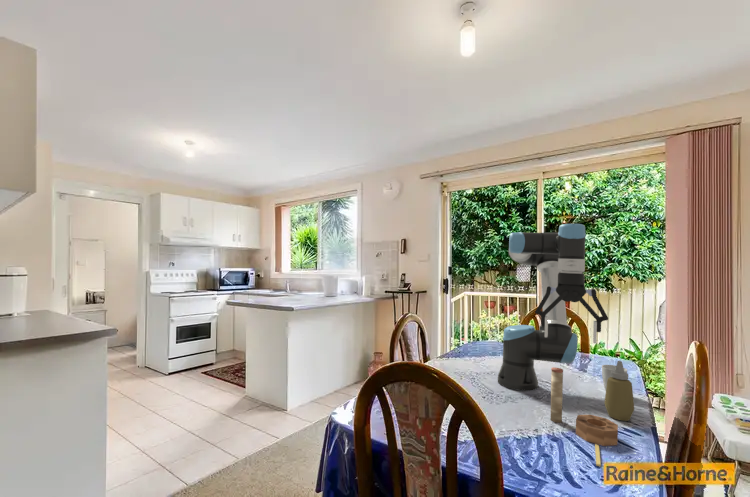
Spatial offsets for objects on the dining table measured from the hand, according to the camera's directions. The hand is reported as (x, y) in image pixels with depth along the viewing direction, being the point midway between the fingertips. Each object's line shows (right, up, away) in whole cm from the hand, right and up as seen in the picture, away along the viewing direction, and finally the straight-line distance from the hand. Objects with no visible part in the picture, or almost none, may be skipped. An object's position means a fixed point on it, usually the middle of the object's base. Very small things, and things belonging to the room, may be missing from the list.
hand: (569, 339), depth 115 cm
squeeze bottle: (+17, -26, +2) cm, 31 cm away
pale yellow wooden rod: (-4, -24, -22) cm, 33 cm away
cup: (+29, -27, +23) cm, 46 cm away
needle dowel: (-5, -25, -2) cm, 25 cm away
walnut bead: (+2, -25, -11) cm, 27 cm away
